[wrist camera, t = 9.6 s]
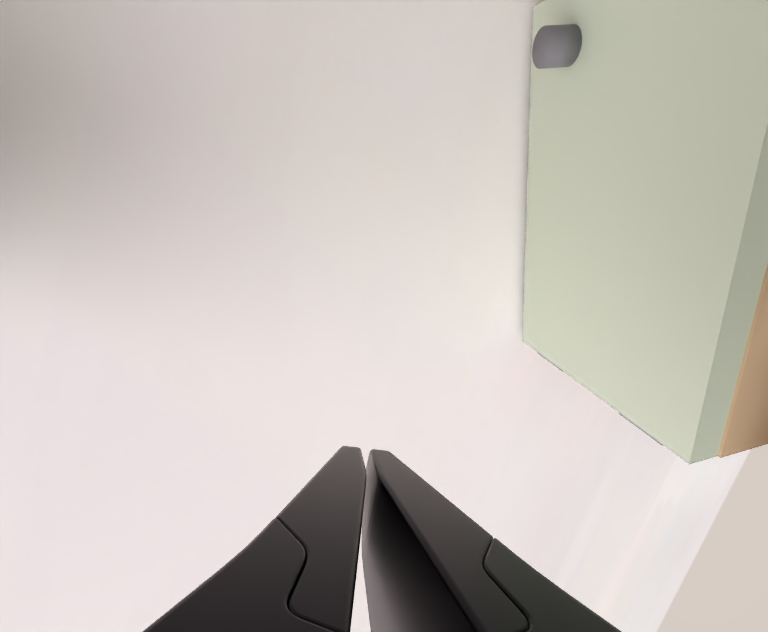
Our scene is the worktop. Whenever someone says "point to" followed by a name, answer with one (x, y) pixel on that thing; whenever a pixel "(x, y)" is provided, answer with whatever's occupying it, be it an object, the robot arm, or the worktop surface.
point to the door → (648, 204)
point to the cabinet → (751, 388)
